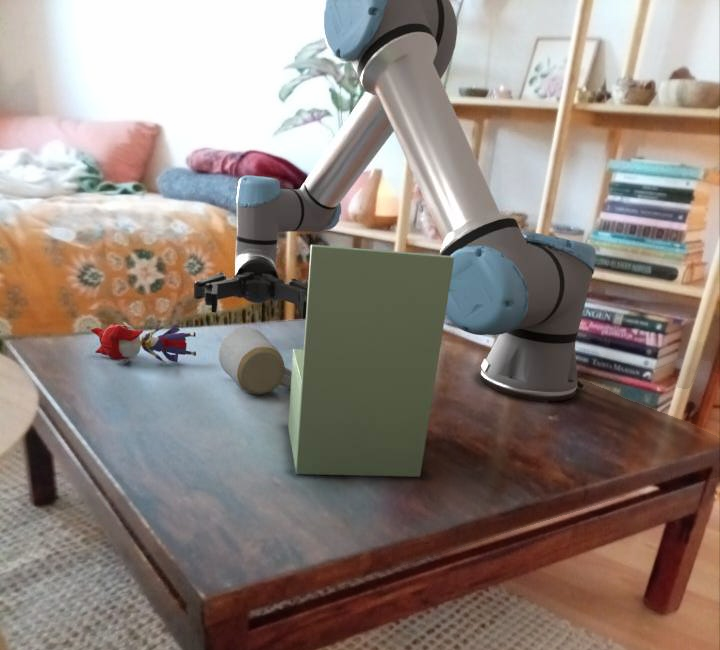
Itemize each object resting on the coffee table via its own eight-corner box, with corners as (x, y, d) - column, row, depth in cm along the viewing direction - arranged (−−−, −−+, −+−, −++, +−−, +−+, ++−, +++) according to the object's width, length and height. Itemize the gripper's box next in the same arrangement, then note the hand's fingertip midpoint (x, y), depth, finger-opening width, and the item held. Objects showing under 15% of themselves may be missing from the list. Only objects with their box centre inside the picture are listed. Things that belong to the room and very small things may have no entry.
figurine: (196, 367, 103) (87, 366, 99) (195, 362, 111) (93, 360, 107) (195, 322, 101) (84, 319, 97) (194, 320, 109) (91, 317, 105)
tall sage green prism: (396, 431, 91) (423, 237, 80) (420, 477, 79) (454, 257, 69) (288, 427, 88) (300, 226, 77) (296, 474, 77) (311, 246, 66)
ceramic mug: (236, 399, 95) (239, 343, 91) (217, 379, 101) (218, 326, 98) (307, 394, 100) (312, 341, 96) (285, 376, 106) (288, 325, 103)
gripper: (324, 303, 128) (340, 336, 109) (184, 293, 123) (175, 325, 105) (328, 261, 125) (344, 287, 106) (184, 249, 120) (174, 274, 102)
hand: (260, 306), depth 105 cm, fingers open, 13 cm apart
